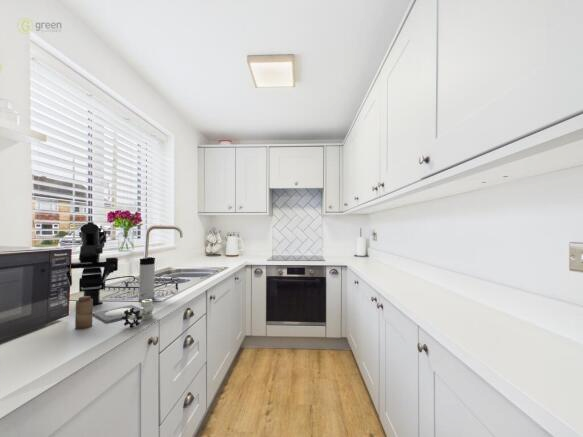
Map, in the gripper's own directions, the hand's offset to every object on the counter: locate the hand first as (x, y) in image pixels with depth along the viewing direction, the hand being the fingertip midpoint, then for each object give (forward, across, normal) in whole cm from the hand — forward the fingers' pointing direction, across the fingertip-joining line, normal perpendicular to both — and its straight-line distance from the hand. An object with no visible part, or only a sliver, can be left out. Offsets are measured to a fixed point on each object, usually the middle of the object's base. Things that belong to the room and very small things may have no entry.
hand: (86, 284), depth 98 cm
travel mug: (-4, +21, +23) cm, 32 cm away
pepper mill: (+14, 0, +4) cm, 15 cm away
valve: (+18, +17, +2) cm, 24 cm away
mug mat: (+8, +10, +11) cm, 17 cm away
